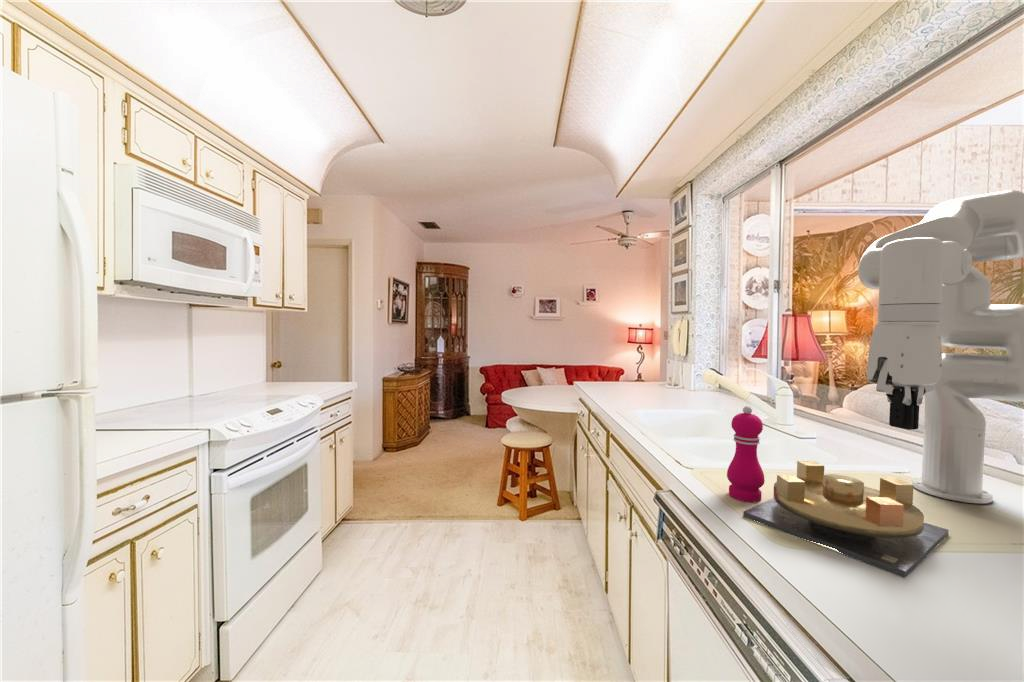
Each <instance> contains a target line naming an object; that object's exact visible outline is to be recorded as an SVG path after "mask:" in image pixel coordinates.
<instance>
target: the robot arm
mask: <svg viewBox="0 0 1024 682" xmlns="http://www.w3.org/2000/svg"><path fill="white" fill-rule="evenodd" d="M1022 258H1024V192H1022V191H1020V190H1014V189H1012V190H1011V189H1010V190H1009V189H1008V190H1002V191H996V192H990V193H985V194H977V195H971V196H965V197H964V196H963V197H960V198H954V199H950V200H947V201H943V202H940V203H939V204H937V205H935V206H934V207H933V208H931V209H930V210H929V211H928V212H927V214H925V216H924V217H923V219H922V220H921V221H920V222H919V223H916V224H913V225H911V226H907V227H905V228H903V229H900V230H897V231H894V232H892V233H890V234H886V235H885V236H883V237H880V238H878V239H877V240H875V241H873V243H872V244H870V245H869V246H868V248H867V249H866V250H865V251H864V253H863V254H862V256H861V258H860V260H859V262H858V263H859V264H858V269H857V273H858V274H857V275H858V278H859V280H860V282H861V284H862V285H863V286H864V287H866V288H867V289H871V290H877V291H878V305H877V324H874V327H873V331H872V333H871V334H872V335H871V339H870V342H869V349H868V357H867V367H866V379H867V380H868V382H869V383H872V384H876V388H875V390H876V391H877V392H878V393H881V394H885V395H886V401H887V402H888V403H889V421H888V422H889V426H891V427H894V428H898V429H903V430H907V431H911V430H918V429H919V424H920V423H919V419H920V405H921V404H922V403H923V399H924V421H923V425H924V426H923V442H922V443H923V444H922V461H921V464H922V465H921V477H916V478H914V479H912V483H911V484H912V485H914V486H913V488H915V489H916V490H919V491H921V492H923V493H925V494H928V495H930V496H934V497H937V498H941V499H945V500H950V501H951V500H952V501H956V502H959V503H967V504H979V505H980V504H989V503H992V502H993V494H992V493H990V492H988V491H987V490H984V489H983V484H984V483H983V479H984V459H985V445H986V444H985V443H986V425H987V424H986V423H987V421H986V417H985V415H984V414H983V413H982V411H981V410H980V409H979V407H977V406H976V405H975V404H974V403H973V402H972V401H971V400H970V399H982V400H991V401H993V400H994V401H1002V402H1003V401H1004V402H1014V403H1015V402H1016V403H1024V304H1021V303H1020V304H1019V303H1015V304H1014V303H1011V304H1009V303H1007V304H992V303H991V293H992V283H991V281H990V279H989V278H988V277H987V276H986V275H985V274H984V273H983V272H982V271H980V270H979V269H977V268H976V267H975V266H973V263H982V262H995V261H1006V260H1008V261H1009V260H1019V259H1022ZM942 346H944V347H945V346H946V347H948V348H949V347H950V348H951V347H952V348H967V349H968V348H969V349H988V350H989V349H992V350H993V349H994V350H1003V351H1006V352H1007V353H1008V355H1000V354H980V353H958V352H957V353H956V352H949V353H948V352H943V347H942Z"/></svg>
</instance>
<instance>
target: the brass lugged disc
mask: <svg viewBox="0 0 1024 682" xmlns="http://www.w3.org/2000/svg"><path fill="white" fill-rule="evenodd" d="M796 462H797V463H796V476H795V475H793V474H777V475H776V482H775V483H774V484H773V496H772V497H773V498H774V499H775V501H776V502H777V503H778V504H779V505H780V506H781V507H783V508H784V509H786V510H787V511H789V512H791V513H793V514H795V515H797V516H799V517H801V518H804V519H806V520H808V521H811V522H814V523H817V524H820V525H823V526H826V527H829V528H833V529H837V530H841V531H845V532H849V533H854V534H859V535H866V536H872V537H881V538H908V537H914V536H917V535H919V534H921V533H922V532H923V527H924V523H925V518H924V517H925V515H924V514H923V512H922V511H921V509H919V508H918V507H916V506H915V505H914V485H912V483H909V482H907V481H905V480H903V479H900V478H897V477H879V490H878V489H875V488H873V487H869V486H866V485H865V483H864V482H863V481H862V480H860V479H858V478H855V477H851V476H848V475H842V474H837V473H836V474H832V473H829V474H825V465H823V464H821V463H819V462H817V461H816V460H809V461H808V460H797V461H796Z"/></svg>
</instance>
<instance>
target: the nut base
mask: <svg viewBox="0 0 1024 682" xmlns="http://www.w3.org/2000/svg"><path fill="white" fill-rule="evenodd" d="M742 513H743V517H744V518H746V519H749V520H751V519H752V520H751V521H754V520H755V521H754V522H757V521H758V522H757V523H759V522H760V523H759V524H762V523H763V524H762V525H764V526H767V525H768V526H767V527H770V528H772V527H773V529H775V530H778V531H780V530H781V531H780V532H783V531H784V533H785V534H788V533H789V534H788V535H790V536H793V535H794V536H793V537H796V536H797V537H796V538H799V537H800V538H799V539H801V538H803V539H802V540H804V539H806V540H805V541H807V540H809V541H813V542H816V543H820V544H823V545H826V546H829V547H832V548H835V549H837V550H838V551H839V552H841V553H843V554H845V555H844V556H846V555H848V556H847V557H849V556H850V557H849V558H851V557H853V558H852V559H854V558H855V559H854V560H856V559H857V560H856V561H859V560H860V561H859V562H862V563H865V564H867V565H870V566H873V567H874V568H878V569H880V570H882V571H885V572H889V573H891V574H893V575H896V576H899V577H901V578H904V579H905V578H907V577H908V576H909V575H910V574H911V573H912V572H913V571H914V570H916V568H917V567H918V566H919V565H920V564H921V563H922V562H923V561H925V559H926V558H927V557H928V556H929V555H930V554H931V553H932V552H933V551H934V550H935V549H936V548H937V547H938V546H939V545H940V544H941V543H942V542H943V541H944V540H945V539H946V538H947V537H948V536H949V529H947V528H945V527H944V528H943V527H940V526H938V525H933V524H930V523H926V522H924V527H923V532H922V533H921V534H919V535H917V536H914V537H908V538H881V537H872V536H866V535H859V534H854V533H849V532H845V531H841V530H837V529H833V528H829V527H826V526H823V525H820V524H817V523H814V522H811V521H808V520H806V519H804V518H801V517H799V516H797V515H795V514H793V513H791V512H789V511H787V510H786V509H784V508H783V507H781V506H780V505H779V504H778V503H777V502H776V501H775V499H774V497H773V498H771V499H768V500H766V501H764V502H762V503H759V504H757V505H754V506H753V507H750V508H748V509H746V510H744V511H743V512H742ZM944 538H945V539H944ZM943 539H944V540H943ZM942 540H943V541H942ZM809 541H808V542H809ZM941 541H942V542H941ZM940 542H941V543H940ZM939 543H940V544H939ZM938 544H939V545H938ZM937 545H938V546H937ZM936 546H937V547H936ZM935 547H936V548H935ZM934 548H935V549H934ZM933 549H934V550H933ZM932 550H933V551H932ZM931 551H932V552H931ZM930 552H931V553H930ZM841 553H840V554H841ZM929 553H930V554H929ZM843 554H842V555H843ZM928 554H929V555H928ZM927 555H928V556H927Z"/></svg>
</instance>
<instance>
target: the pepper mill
mask: <svg viewBox="0 0 1024 682" xmlns="http://www.w3.org/2000/svg"><path fill="white" fill-rule="evenodd" d="M752 412H753V409H752V407H751V406H748V405H745V406H744V407H743V408H742V412H741V413H738V414H735V415H734V416H733V418H732V419H731V429H732V430H733V431H734V433H733V441H734V442H735V452H734V455H733V458H732V460H731V462H730V463H729V465H728V468H727V472H726V478H727V480H728V481H729V483H731V484H730V485H728V495H729V497H731V498H733V499H735V500H737V501H741V502H745V503H746V502H747V503H758V502H760V501H762V495H763V493H762V490H761V488H762V487H763V486H764V485H765V474H764V471H763V469H762V466H761V464H760V461H759V458H758V452H757V451H758V445H760V444H761V443H760V439H761V438H760V436H759V435H761V433H762V432H763V429H764V426H763V424H764V423H763V421H762V419H761V418H760V417H759V416H758V415H755V414H754V413H752Z"/></svg>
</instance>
